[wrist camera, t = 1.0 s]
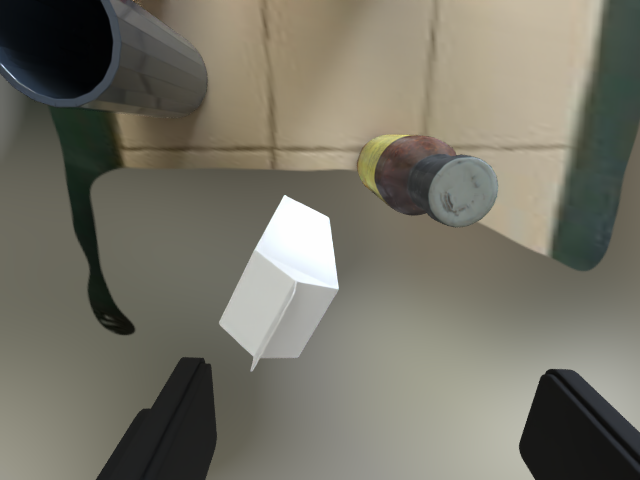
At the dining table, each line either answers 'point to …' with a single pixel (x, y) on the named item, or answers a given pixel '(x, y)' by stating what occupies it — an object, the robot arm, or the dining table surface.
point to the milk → (284, 285)
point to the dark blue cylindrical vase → (99, 58)
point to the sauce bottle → (428, 179)
